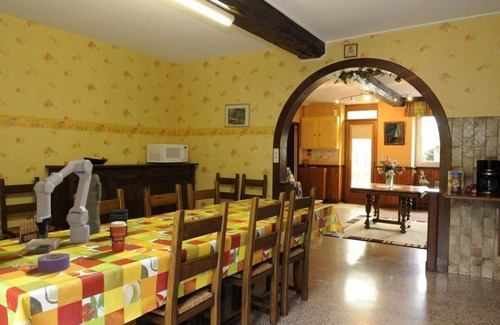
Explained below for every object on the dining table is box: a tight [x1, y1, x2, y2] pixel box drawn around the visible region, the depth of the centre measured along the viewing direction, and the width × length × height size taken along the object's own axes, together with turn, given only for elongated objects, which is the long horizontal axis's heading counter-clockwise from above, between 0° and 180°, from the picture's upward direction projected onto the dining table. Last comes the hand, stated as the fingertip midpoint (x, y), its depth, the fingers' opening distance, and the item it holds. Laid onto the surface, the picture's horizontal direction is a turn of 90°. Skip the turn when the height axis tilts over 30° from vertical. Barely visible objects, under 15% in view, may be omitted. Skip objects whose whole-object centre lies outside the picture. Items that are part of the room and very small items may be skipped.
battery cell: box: [40, 225, 49, 239], centre depth 173 cm, size 3×3×8 cm
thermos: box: [85, 173, 102, 235], centre depth 214 cm, size 9×12×35 cm
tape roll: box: [37, 252, 71, 274], centre depth 150 cm, size 12×12×5 cm
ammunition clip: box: [18, 218, 40, 245], centre depth 192 cm, size 11×2×12 cm, turn 158°
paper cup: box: [109, 221, 128, 253], centre depth 177 cm, size 8×8×14 cm
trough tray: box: [25, 237, 62, 251], centre depth 181 cm, size 13×10×3 cm
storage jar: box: [109, 208, 129, 238], centre depth 208 cm, size 10×10×15 cm
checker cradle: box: [27, 245, 53, 255], centre depth 173 cm, size 9×6×2 cm, turn 105°
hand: (43, 234), depth 173 cm, fingers closed on battery cell, 3 cm apart
